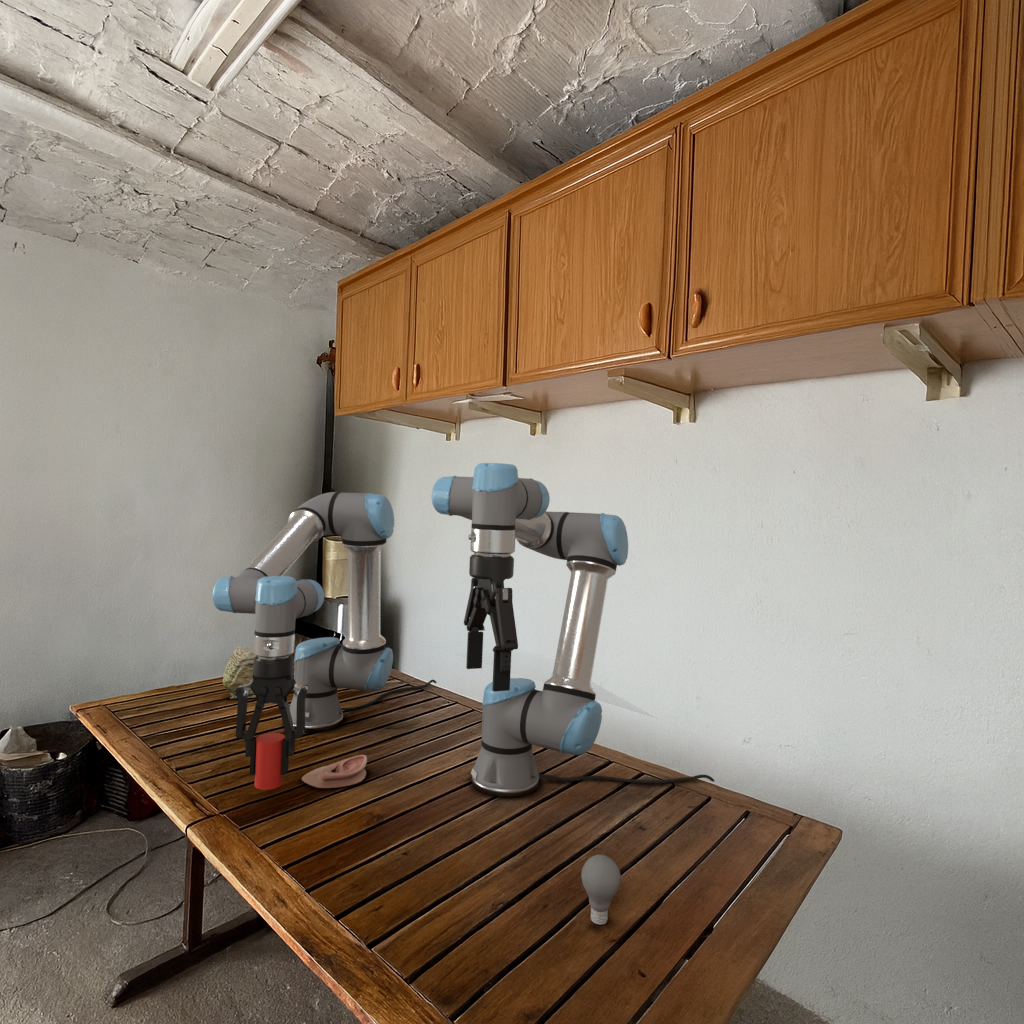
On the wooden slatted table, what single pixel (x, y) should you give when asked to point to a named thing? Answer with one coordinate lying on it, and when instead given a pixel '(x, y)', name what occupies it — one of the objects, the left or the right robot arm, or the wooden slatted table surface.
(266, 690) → the left robot arm
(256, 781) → the cylinder
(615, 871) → the light bulb
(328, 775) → the anatomical model
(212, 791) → the wooden slatted table surface
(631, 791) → the wooden slatted table surface
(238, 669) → the fossil
